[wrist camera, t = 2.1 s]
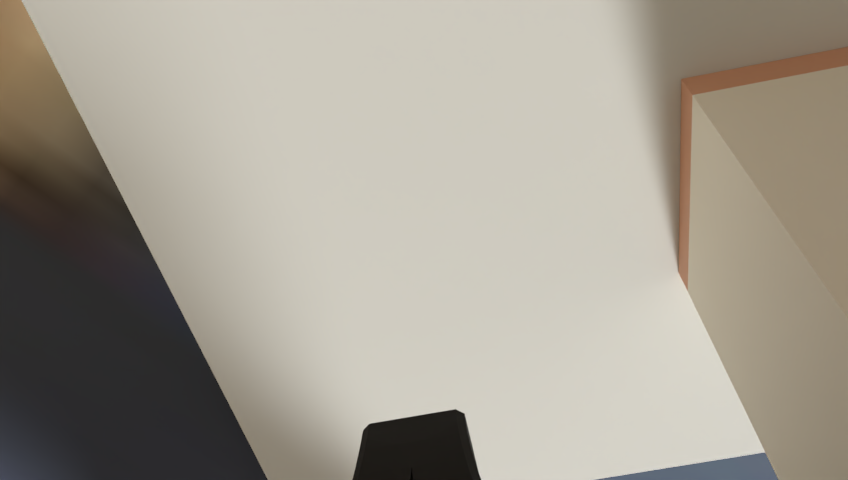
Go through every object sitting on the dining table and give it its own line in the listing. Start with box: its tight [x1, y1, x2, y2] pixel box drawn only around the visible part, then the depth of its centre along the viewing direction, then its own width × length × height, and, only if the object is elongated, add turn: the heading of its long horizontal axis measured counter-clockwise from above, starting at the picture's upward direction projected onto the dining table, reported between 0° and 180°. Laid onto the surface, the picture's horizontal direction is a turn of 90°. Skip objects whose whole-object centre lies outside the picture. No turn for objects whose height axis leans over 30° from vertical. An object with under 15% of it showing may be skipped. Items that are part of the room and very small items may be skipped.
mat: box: [22, 0, 848, 480], centre depth 15 cm, size 18×24×1 cm
